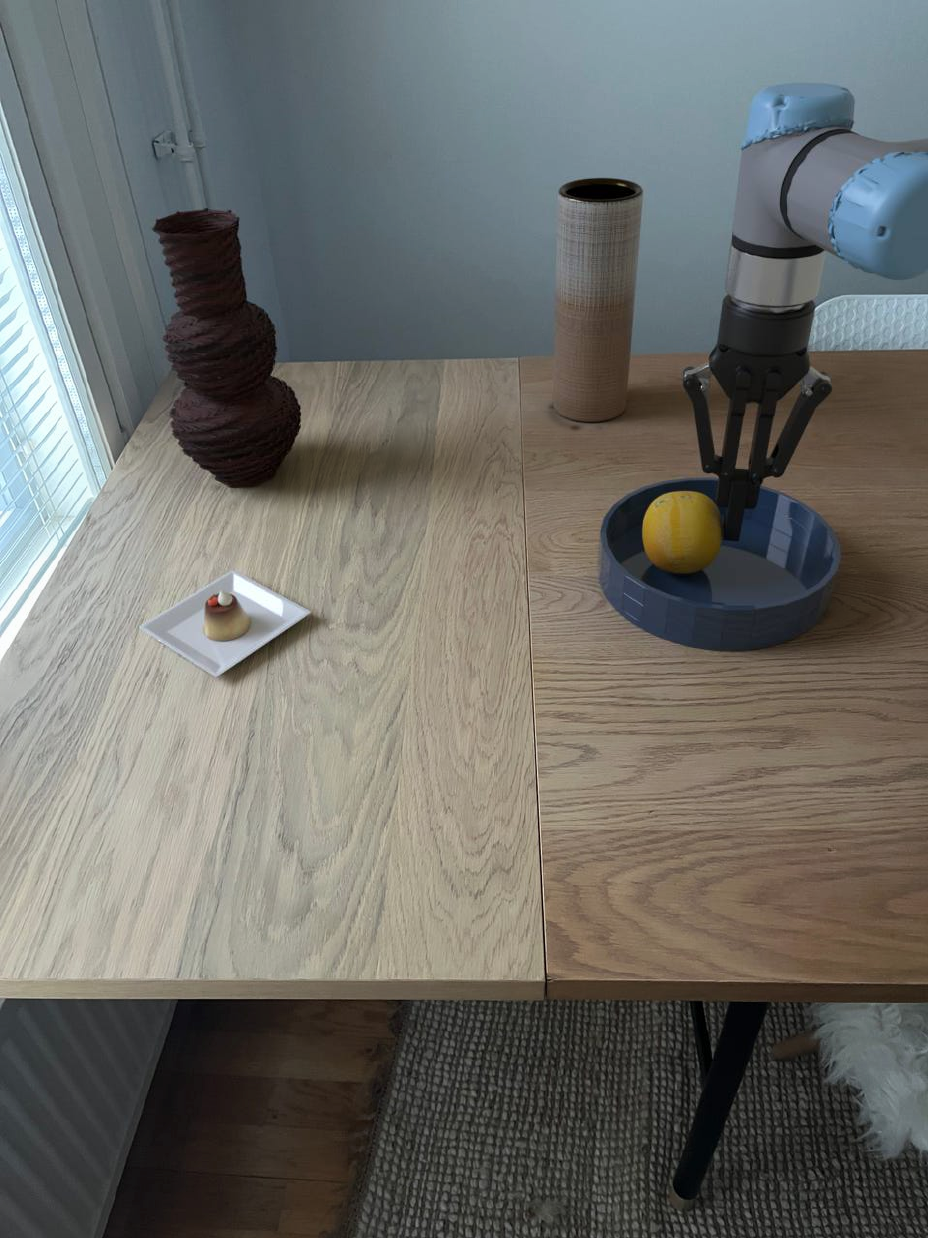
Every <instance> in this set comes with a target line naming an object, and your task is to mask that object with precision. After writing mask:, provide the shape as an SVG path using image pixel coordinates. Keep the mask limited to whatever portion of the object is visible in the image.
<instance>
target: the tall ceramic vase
mask: <svg viewBox="0 0 928 1238" xmlns="http://www.w3.org/2000/svg"><path fill="white" fill-rule="evenodd" d="M643 201H644V189H643V187H642V186H641V185H640V184H639V183H636V182H634V181H631V180H627V179H622V178H613V177H590V178H579V179H575V180H572V181H569V182H566V183H564V184H563V185H561V186H560V187H559V188H558V191H557V216H556V217H557V219H556V221H557V222H556V254H555V255H556V257H555V259H556V260H555V293H554V297H555V298H554V332H553V367H552V369H553V370H552V374H553V375H552V408H553V409H554V411H555V412H556V413H557V414H558V415H559V416H561V417H563V418H565V419H567V420H568V419H569V420H571V421H575V422H580V423H581V422H583V423H599V422H605V421H609V420H613V419H615V418H617V417H619V416H620V415H621V414H623V412H625V410H626V406H627V400H628V387H629V375H630V365H631V364H630V362H631V350H632V338H633V328H634V327H633V326H634V313H635V301H636V287H637V275H638V263H639V250H640V241H641V240H640V239H641V227H642V226H641V225H642V215H643V203H644V202H643Z"/></svg>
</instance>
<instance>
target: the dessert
mask: <svg viewBox="0 0 928 1238" xmlns="http://www.w3.org/2000/svg"><path fill="white" fill-rule="evenodd" d="M311 612H312V611H310V610H309V609H307V608H305V607H303V606H302V605H299V604H298V603H297V602H294V601H292V600H290V599H289V598H287V597H285V596H284V595H281V594H279V593H278V592H276V591H275V590H272V589H270V588H269V587H266V586H265V585H263V584H261V583H259V582H258V581H255V580H254V579H252V578H250V577H248V576H246V575H244V574H242V573H241V572H239V571H237V570H235V569H232V570H230V571H228V572H226V573H225V574H223V575H221V576H220V577H218V578H216V579H214V580H213V581H212V582H210V583H209V584H207V585H205V586H203V587H202V588H200V589H198V590H196V591H195V592H194V593H191V594H190V595H189V596H187V597H185V598H183V599H182V600H181V601H178V602H177V603H175V604H174V605H172V606H171V607H169V608H167V609H166V610H164V611H162V612H161V613H159V614H158V615H155V616H154V617H153V618H151V619H149V620H147V621H146V622H144V623H143V624H141V625H140V626H138V628H139V629H140V630H141V631H143V632H144V633H146V634H148V635H149V636H151V637H152V638H154V639H156V640H157V641H159V642H161V644H163V645H164V646H166V647H168V648H169V649H171V650H173V651H174V652H176V653H178V655H180V656H181V657H183V658H185V659H187V660H188V661H189V662H191V663H193V664H195V665H196V667H197V666H198V667H199V668H200V669H202V670H204V671H205V672H207V673H208V674H210V675H211V676H213V677H214V678H217V677H220V676H221V675H223V674H224V673H225V672H227V671H228V670H230V669H231V668H233V667H235V666H236V665H237V664H238V663H240V662H242V661H243V660H244V659H246V658H248V657H249V656H251V655H252V654H253V653H255V652H256V651H258V650H259V649H260V648H262V647H263V646H265V645H267V643H270V641H272V640H273V639H275V638H277V637H278V636H280V635H281V634H283V633H284V632H285V631H286V630H288V629H289V628H292V627H293V626H294V625H296V624H297V623H298V622H300V621H301V620H303V619H304V618H306V617H307V616H308V615H310V614H311Z"/></svg>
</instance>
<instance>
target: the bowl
mask: <svg viewBox="0 0 928 1238" xmlns="http://www.w3.org/2000/svg"><path fill="white" fill-rule="evenodd" d="M718 479H719V477H712V476H711V477H708V476H706V477H705V476H703V477H683V478H682V477H681V478H675V479H669V480H662V481H658V482H655V483H652V484H648V485H644V486H642V487H640V488H638V489H635V490H633V491H631V492H629V493H627V494H626V495H624V496H623V497H621V498H620V499H618V501H617V502H615V503H613V505H612V506H611V507H610V508H609V510H608V511H607V512H606V514H605V515H604V517H603V519H602V523H601V527H600V529H599V530H600V531H599V542H598V557H597V559H598V560H597V568H598V569H597V575H598V583H599V586H600V589H601V591H602V593H603V595H604V596H605V599H606V600H607V601H608V602H609V604H610V605H611V607H612V608H613V609H614V610H615V611H617V612H618V613H619V614H620V616H621V617H623V618H624V619H625V620H627V621H628V622H630V623H631V624H632V625H634V626H636V627H638V628H639V629H641V630H643V631H644V632H647V633H649V634H651V635H653V636H655V637H658V638H660V639H663V640H665V641H669V642H671V643H675V644H679V645H682V646H686V647H690V648H696V649H702V650H711V651H721V652H726V651H727V652H739V651H740V652H741V651H742V652H743V651H753V650H760V649H766V648H770V647H774V646H779V645H781V644H784V643H787V642H789V641H792V640H795V639H797V638H798V637H800V636H802V635H804V634H805V633H807V632H808V631H809V630H811V629H812V628H813V627H814V626H816V625H817V624H818V623H819V621H820V620H821V619H822V618H823V616H824V615H825V613H826V611H827V609H828V607H829V603H830V600H831V597H832V593H833V591H834V586H835V584H836V579H837V576H838V572H839V567H840V565H841V561H842V555H841V554H842V553H841V543H840V541H839V539H838V537H837V535H836V532H835V531H834V529H833V527H832V526H831V525H830V524H829V523H828V522H827V521H826V520H825V519H824V517H823V516H822V515H821V514H820V513H819V512H817V511H816V510H814V509H813V508H812V507H810V506H809V505H807V504H806V503H804V502H803V501H801V500H798V499H797V498H795V497H793V496H791V495H788V494H786V493H785V492H782V491H780V490H777V489H775V488H774V489H773V488H771V487H767V486H765V485H763V484H761V486H760V491H759V497H758V502H757V506H756V507H755V508H754V509H746V508H745V509H744V515H743V521H742V527H741V533H740V539H739V541H726V540H723V538H722V544H721V548H720V551H719V553H718V555H717V557H716V558H715V560H714V561H713V562H712V563H711V564H710V565H709V566H708V567H706V568H704V569H702V570H700V571H698V572H695V573H690V574H674V573H669V572H666V571H663V570H661V569H659V568H658V567H656V566H655V565H654V564H653V563H652V562H651V561H650V559H649V558H648V556H647V554H646V551H645V548H644V544H643V535H642V528H643V520H644V517H645V514H646V511H647V509H648V508H649V506H650V505H651V503H652V502H653V501H654V500H655V499H657V498H658V497H660V496H662V495H664V494H666V493H670V492H677V491H693V492H698V493H702V494H704V495H706V496H707V497H709V498H710V499H711V500H712V501H713V502H714V503H715V504H716V506H717V503H716V492H717V486H718ZM717 508H718V510H719V512H720V515H721V518H722V524H723V522H724V516H725V509H726V507H718V506H717Z"/></svg>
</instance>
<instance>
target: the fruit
mask: <svg viewBox="0 0 928 1238" xmlns="http://www.w3.org/2000/svg"><path fill="white" fill-rule="evenodd" d="M642 535H643V544H644V548H645V551H646V554H647V556H648V558H649V559H650V561H651V562H652V563H653V564H654V565H655V566H656V567H658V568H659V569H661V570H663V571H666V572H669V573H674V574H690V573H695V572H698V571H700V570H702V569H704V568H706V567H708V566H709V565H710V564H711V563H712V562H713V561H714V560H715V558H716V557H717V555H718V553H719V551H720V548H721V544H722V538H723V524H722V518H721V515H720V512H719V510H718V508H717V506H716V504H715V503H714V502H713V501H712V500H711V499H710V498H709V497H707V496H706V495H704V494H702V493H698V492H693V491H677V492H670V493H666V494H664V495H662V496H660V497H658V498H657V499H655V500H654V501H653V502H652V503H651V505H650V506H649V508H648V509H647V511H646V514H645V517H644V520H643V528H642Z"/></svg>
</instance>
